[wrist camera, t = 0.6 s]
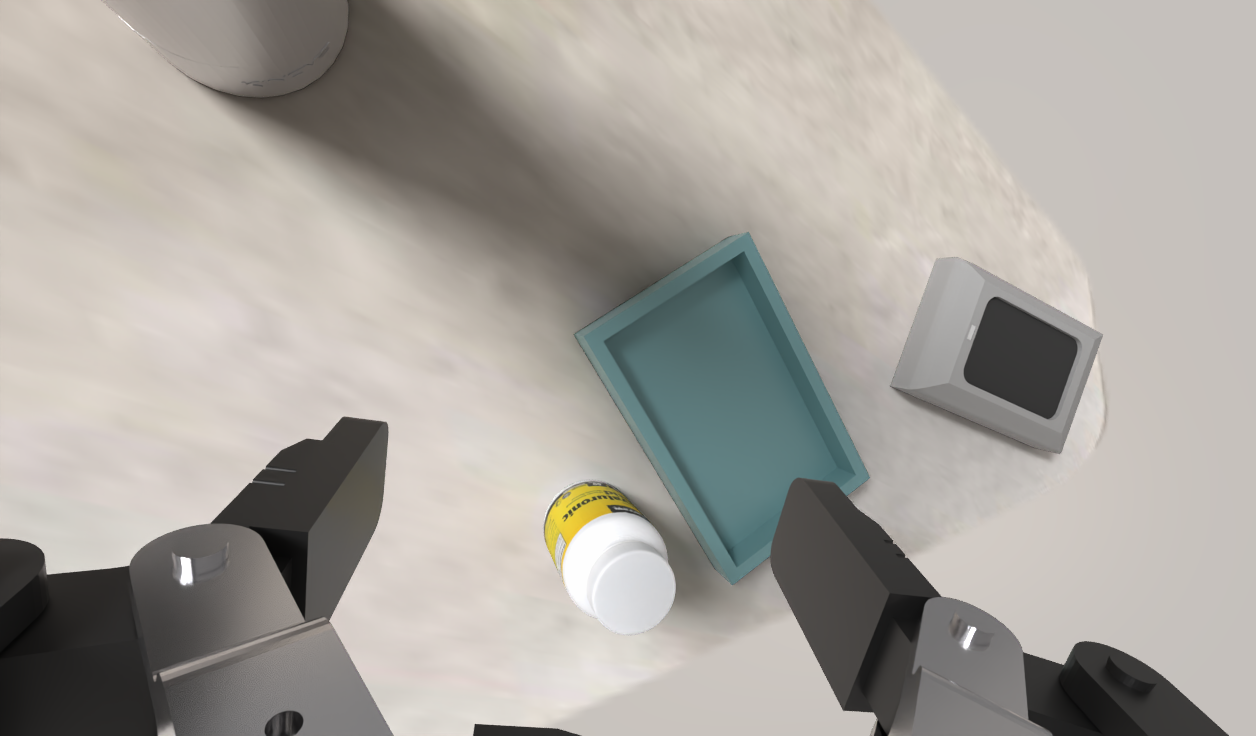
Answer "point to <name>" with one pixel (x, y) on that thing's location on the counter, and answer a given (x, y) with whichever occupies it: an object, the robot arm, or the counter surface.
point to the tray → (722, 399)
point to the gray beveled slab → (996, 355)
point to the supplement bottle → (609, 557)
